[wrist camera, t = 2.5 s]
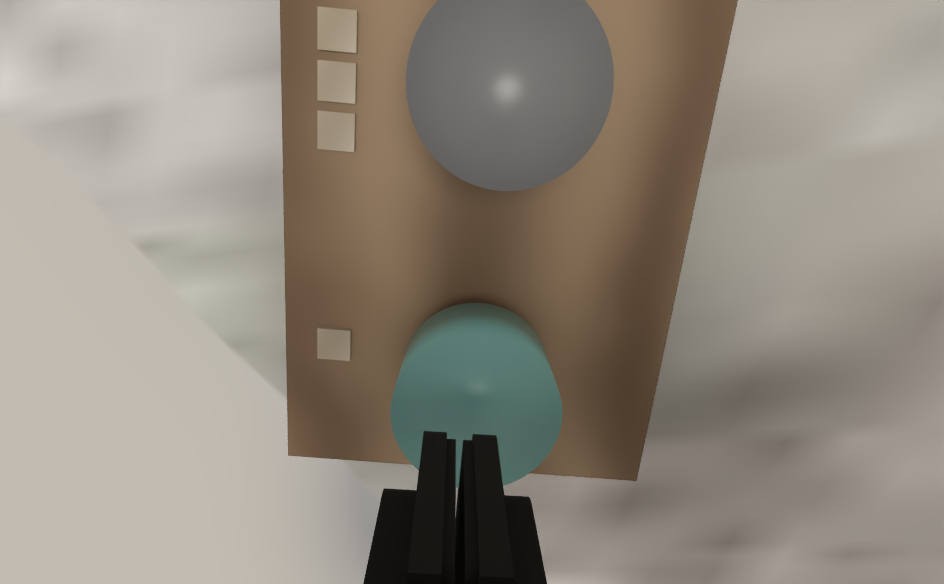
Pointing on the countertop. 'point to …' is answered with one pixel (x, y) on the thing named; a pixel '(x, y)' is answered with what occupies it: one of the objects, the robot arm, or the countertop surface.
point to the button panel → (485, 227)
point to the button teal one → (478, 387)
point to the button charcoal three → (509, 88)
